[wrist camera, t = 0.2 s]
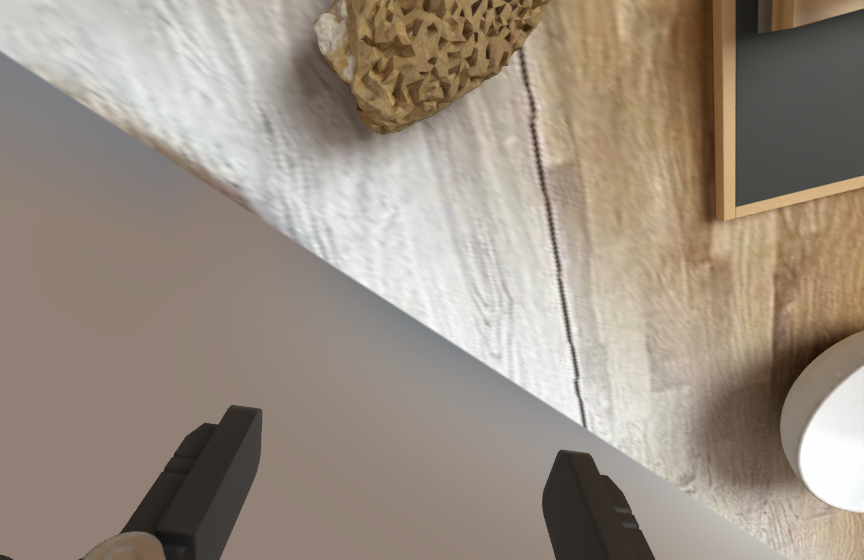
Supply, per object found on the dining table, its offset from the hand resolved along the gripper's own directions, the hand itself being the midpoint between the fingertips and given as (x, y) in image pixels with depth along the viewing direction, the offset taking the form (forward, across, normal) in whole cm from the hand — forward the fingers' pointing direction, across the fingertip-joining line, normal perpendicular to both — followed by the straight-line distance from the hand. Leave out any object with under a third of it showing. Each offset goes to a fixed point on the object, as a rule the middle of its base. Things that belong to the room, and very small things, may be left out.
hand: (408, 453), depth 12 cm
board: (+29, -29, -16) cm, 44 cm away
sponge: (+29, 0, -16) cm, 33 cm away
